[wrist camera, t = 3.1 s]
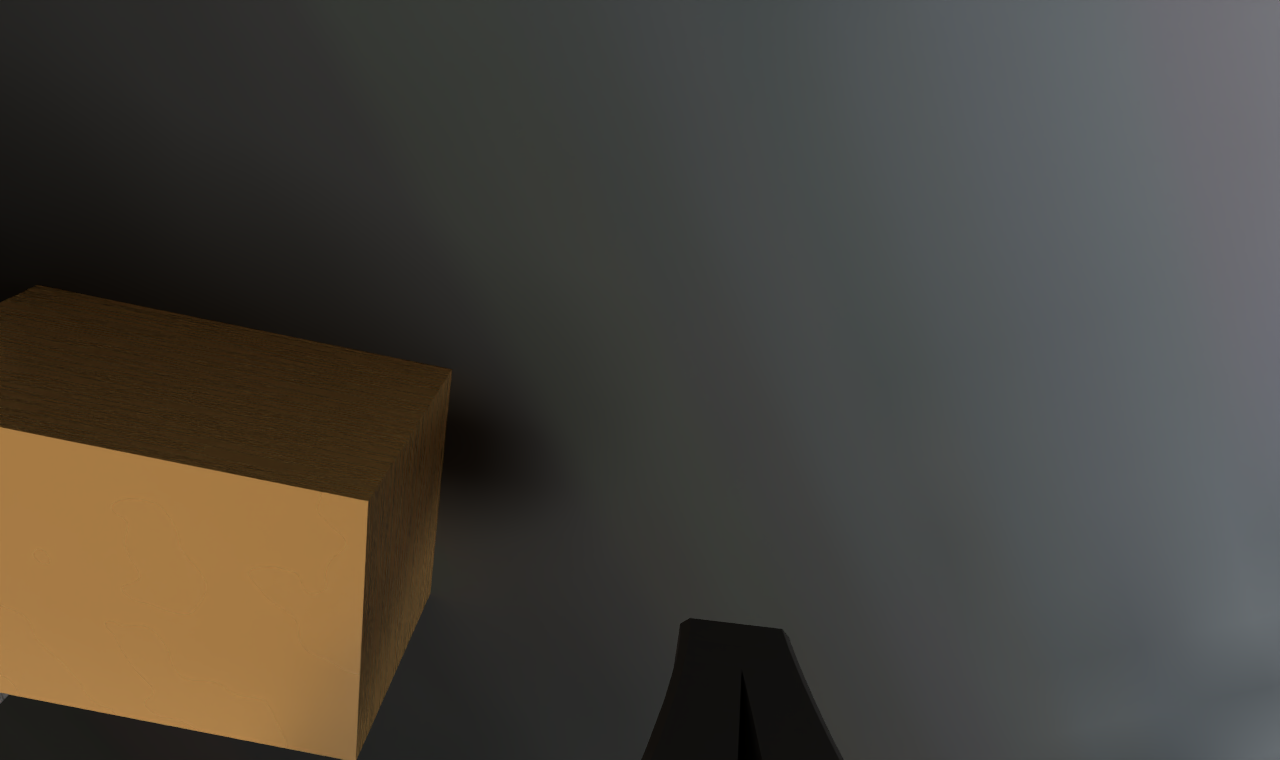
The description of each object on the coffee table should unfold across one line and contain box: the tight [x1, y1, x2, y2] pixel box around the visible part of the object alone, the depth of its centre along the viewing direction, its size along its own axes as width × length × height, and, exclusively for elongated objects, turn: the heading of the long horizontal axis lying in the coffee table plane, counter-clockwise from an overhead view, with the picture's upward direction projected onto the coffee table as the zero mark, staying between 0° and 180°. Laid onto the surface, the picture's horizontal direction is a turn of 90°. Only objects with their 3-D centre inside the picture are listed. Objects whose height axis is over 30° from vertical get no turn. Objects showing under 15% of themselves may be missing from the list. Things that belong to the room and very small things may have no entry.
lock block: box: [0, 285, 452, 760], centre depth 13 cm, size 7×5×4 cm
